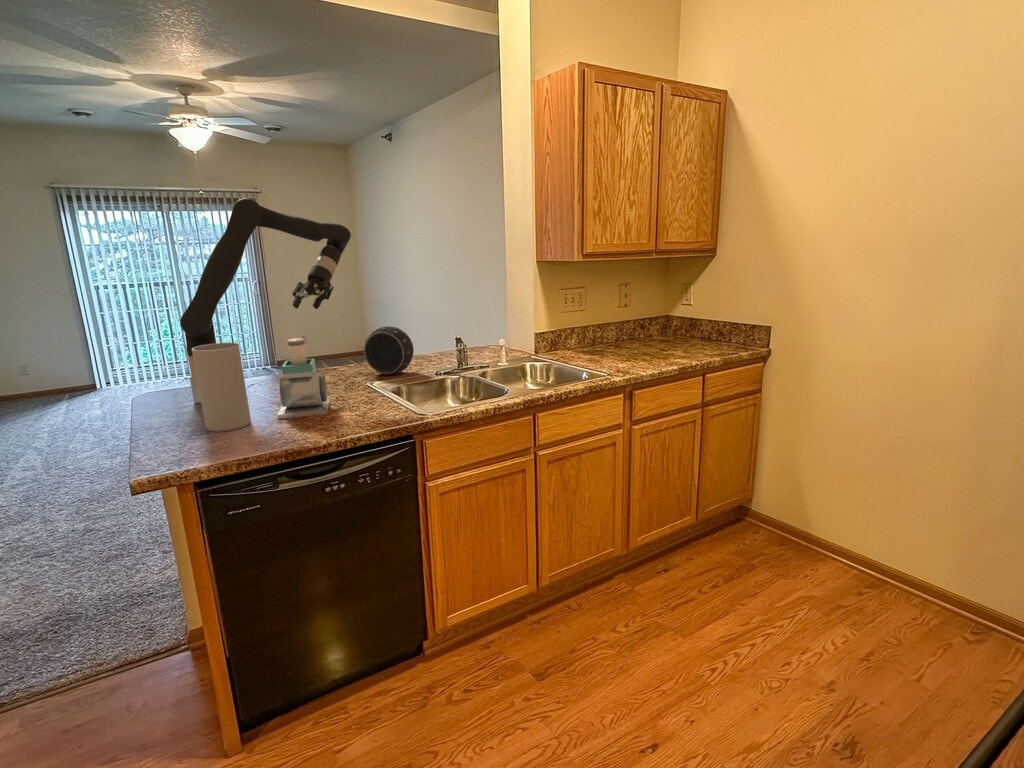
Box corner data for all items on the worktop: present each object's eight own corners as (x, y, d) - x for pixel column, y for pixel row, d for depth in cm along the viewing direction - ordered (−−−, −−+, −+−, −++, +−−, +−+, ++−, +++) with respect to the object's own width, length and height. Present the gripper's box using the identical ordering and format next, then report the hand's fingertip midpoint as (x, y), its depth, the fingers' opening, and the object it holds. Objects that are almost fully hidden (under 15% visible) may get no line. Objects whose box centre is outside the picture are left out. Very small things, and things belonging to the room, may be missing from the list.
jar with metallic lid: (290, 372, 175) (286, 342, 173) (292, 368, 180) (287, 338, 177) (307, 370, 177) (303, 340, 174) (308, 366, 182) (304, 337, 179)
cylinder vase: (235, 417, 177) (222, 341, 171) (259, 422, 171) (247, 344, 164) (197, 428, 167) (182, 348, 160) (222, 435, 160) (207, 352, 154)
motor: (277, 419, 174) (270, 369, 169) (284, 406, 187) (277, 359, 183) (326, 414, 177) (320, 365, 173) (329, 402, 190) (324, 356, 186)
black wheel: (408, 377, 222) (404, 329, 217) (363, 376, 226) (358, 328, 221) (417, 371, 232) (414, 325, 227) (374, 370, 236) (370, 324, 231)
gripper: (300, 264, 196) (282, 300, 188) (333, 264, 191) (315, 300, 184) (312, 278, 202) (294, 313, 194) (344, 278, 197) (327, 314, 190)
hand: (304, 307), depth 189 cm, fingers open, 8 cm apart
